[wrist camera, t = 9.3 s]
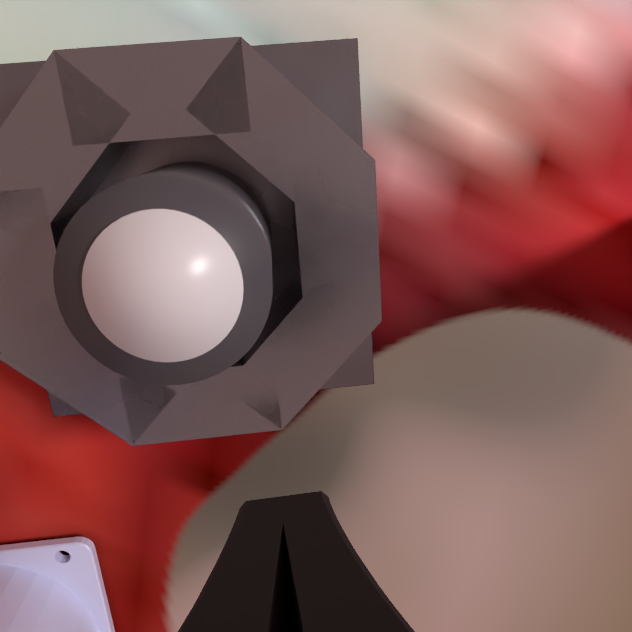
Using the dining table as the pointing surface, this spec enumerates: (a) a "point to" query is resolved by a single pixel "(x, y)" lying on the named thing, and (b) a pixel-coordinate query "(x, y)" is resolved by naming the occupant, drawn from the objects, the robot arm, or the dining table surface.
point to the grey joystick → (212, 148)
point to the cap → (167, 274)
